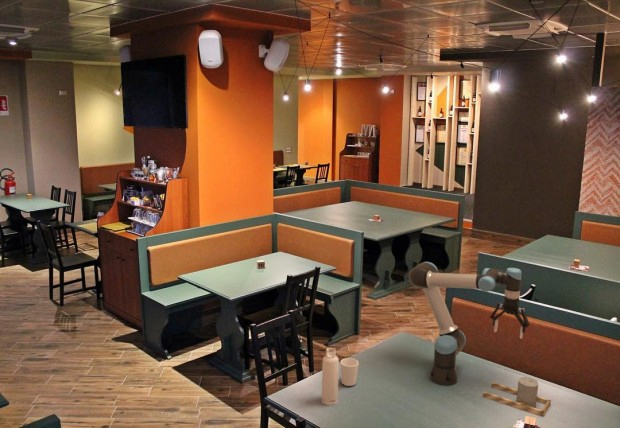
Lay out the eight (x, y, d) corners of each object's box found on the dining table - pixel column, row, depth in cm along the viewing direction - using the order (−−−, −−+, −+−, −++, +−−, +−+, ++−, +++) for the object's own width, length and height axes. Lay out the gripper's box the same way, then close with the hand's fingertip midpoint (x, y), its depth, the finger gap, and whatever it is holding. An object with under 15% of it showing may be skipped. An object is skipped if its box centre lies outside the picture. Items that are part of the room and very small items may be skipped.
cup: (337, 386, 291) (337, 364, 289) (342, 378, 300) (343, 356, 298) (354, 389, 287) (355, 367, 285) (360, 381, 296) (361, 359, 294)
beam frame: (482, 396, 283) (483, 391, 283) (491, 386, 294) (492, 380, 294) (543, 416, 265) (543, 410, 265) (550, 404, 276) (551, 399, 276)
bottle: (339, 398, 279) (341, 347, 273) (334, 406, 271) (336, 354, 266) (324, 395, 281) (325, 345, 276) (319, 403, 274) (320, 351, 268)
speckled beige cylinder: (537, 410, 271) (540, 387, 269) (517, 407, 273) (520, 385, 271) (534, 400, 281) (536, 378, 278) (514, 398, 282) (516, 376, 280)
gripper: (486, 293, 292) (482, 330, 296) (534, 304, 277) (530, 343, 281) (490, 290, 298) (487, 326, 302) (538, 300, 283) (534, 338, 287)
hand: (508, 334), depth 292 cm, fingers open, 13 cm apart
